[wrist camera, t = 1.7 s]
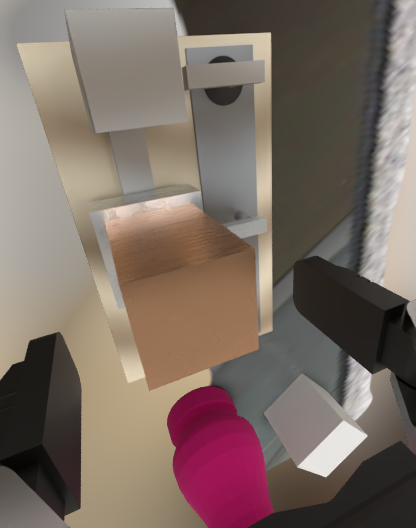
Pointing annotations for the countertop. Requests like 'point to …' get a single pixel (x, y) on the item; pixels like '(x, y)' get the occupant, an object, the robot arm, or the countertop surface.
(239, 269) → the slider
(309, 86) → the countertop surface
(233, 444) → the pepper mill
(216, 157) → the board
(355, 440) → the white cube
